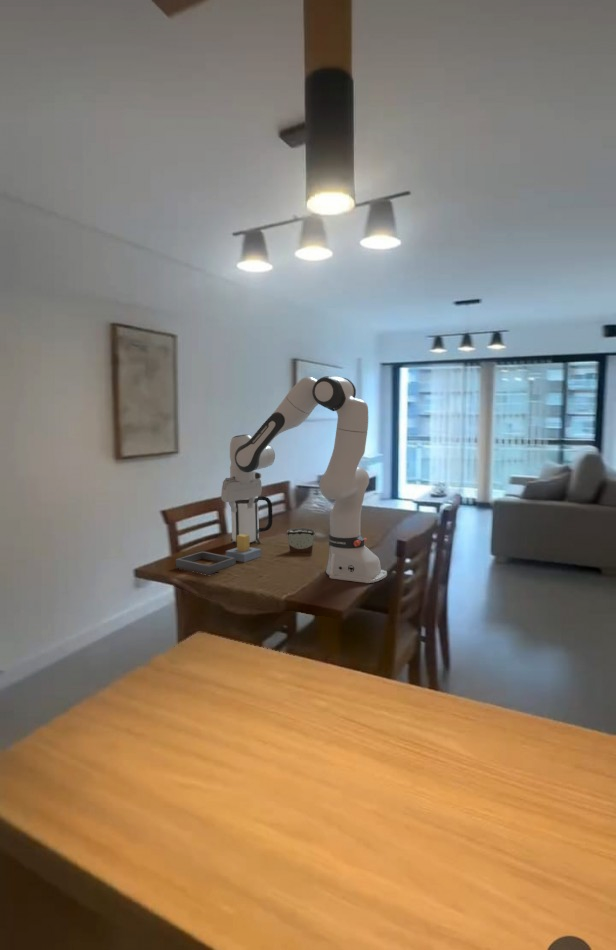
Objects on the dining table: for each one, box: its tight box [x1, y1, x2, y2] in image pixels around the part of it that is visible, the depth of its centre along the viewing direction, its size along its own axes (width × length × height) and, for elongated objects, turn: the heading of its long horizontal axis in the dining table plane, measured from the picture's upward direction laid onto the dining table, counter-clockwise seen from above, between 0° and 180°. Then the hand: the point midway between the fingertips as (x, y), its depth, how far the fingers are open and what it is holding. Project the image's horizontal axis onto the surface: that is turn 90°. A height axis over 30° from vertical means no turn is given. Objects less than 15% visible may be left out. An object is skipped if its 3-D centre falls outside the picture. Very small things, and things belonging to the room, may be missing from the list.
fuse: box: [236, 534, 251, 552], centre depth 220 cm, size 4×3×9 cm
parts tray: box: [175, 550, 237, 576], centre depth 211 cm, size 18×14×4 cm
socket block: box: [225, 546, 262, 563], centre depth 221 cm, size 10×10×4 cm
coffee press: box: [230, 495, 273, 546], centre depth 247 cm, size 17×16×30 cm
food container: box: [285, 527, 316, 554], centre depth 231 cm, size 12×6×10 cm, turn 84°
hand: (242, 510), depth 219 cm, fingers open, 8 cm apart
